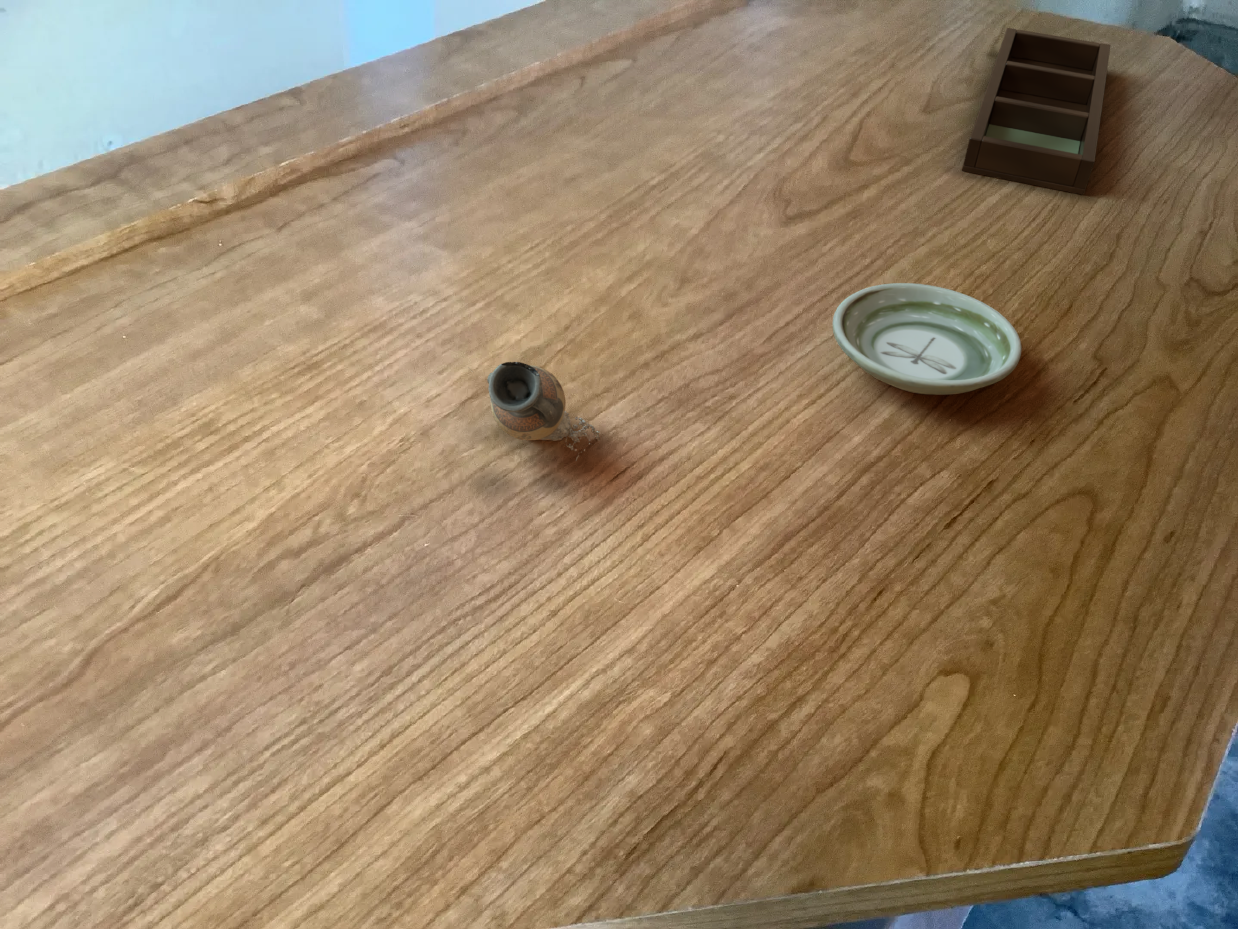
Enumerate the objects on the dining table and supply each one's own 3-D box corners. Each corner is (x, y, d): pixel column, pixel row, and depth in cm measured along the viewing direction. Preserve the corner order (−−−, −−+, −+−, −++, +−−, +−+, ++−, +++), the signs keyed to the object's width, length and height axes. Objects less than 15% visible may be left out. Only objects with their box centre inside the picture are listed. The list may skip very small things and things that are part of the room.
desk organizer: (1101, 73, 96) (1110, 44, 95) (1083, 194, 80) (1094, 161, 78) (999, 56, 98) (1006, 26, 97) (961, 170, 82) (969, 137, 80)
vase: (548, 509, 54) (550, 402, 50) (446, 470, 55) (440, 363, 51) (604, 443, 57) (609, 339, 54) (506, 408, 59) (505, 305, 55)
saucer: (1019, 340, 66) (1030, 303, 64) (1000, 442, 59) (1012, 403, 57) (846, 301, 68) (853, 264, 67) (808, 395, 61) (815, 356, 60)
